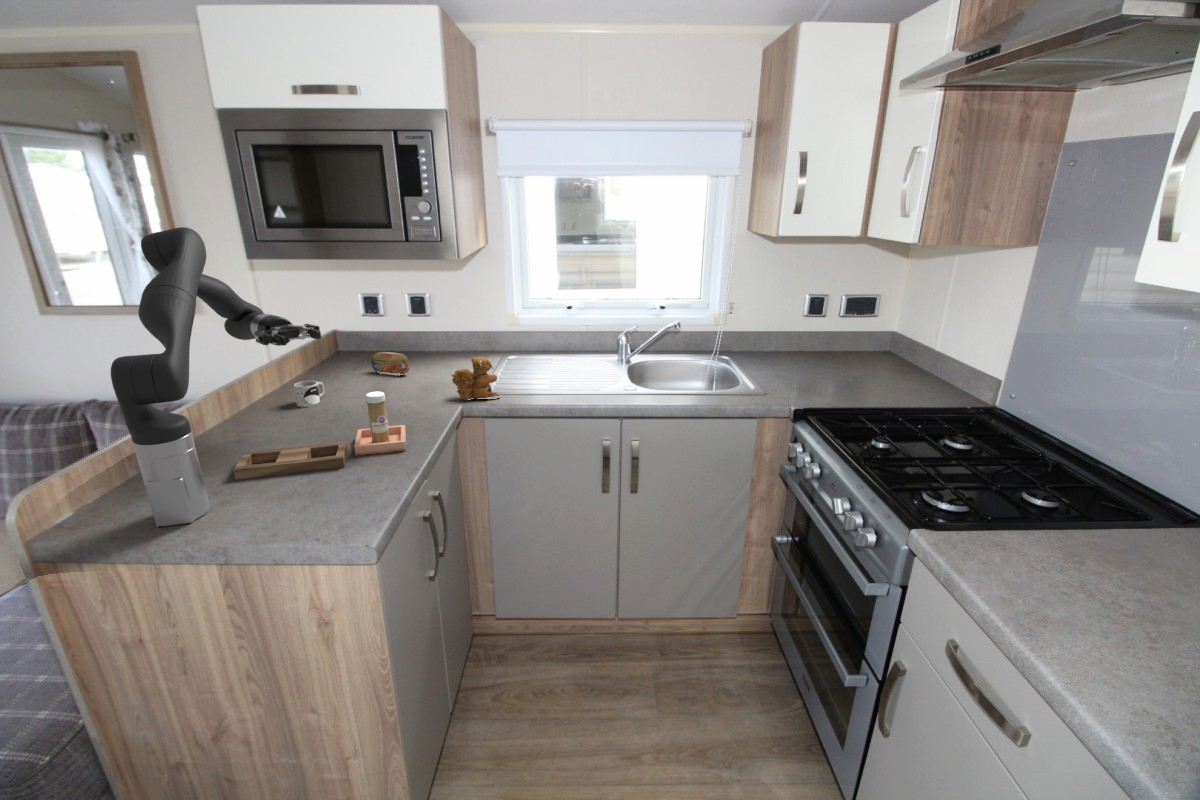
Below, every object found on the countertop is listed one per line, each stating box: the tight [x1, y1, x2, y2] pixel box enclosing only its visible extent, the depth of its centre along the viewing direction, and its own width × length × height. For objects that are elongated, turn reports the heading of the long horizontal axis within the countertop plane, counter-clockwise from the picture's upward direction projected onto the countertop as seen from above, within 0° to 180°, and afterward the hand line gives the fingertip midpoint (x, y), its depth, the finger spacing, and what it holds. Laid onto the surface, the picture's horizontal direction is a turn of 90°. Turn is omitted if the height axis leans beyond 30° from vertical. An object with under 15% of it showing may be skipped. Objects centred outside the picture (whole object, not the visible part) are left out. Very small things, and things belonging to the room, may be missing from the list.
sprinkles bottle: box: [365, 391, 390, 443], centre depth 147 cm, size 5×5×13 cm
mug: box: [293, 380, 326, 408], centre depth 179 cm, size 10×7×7 cm, turn 160°
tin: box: [370, 351, 411, 375], centre depth 208 cm, size 15×3×8 cm, turn 73°
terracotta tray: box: [353, 424, 407, 457], centre depth 149 cm, size 12×12×2 cm
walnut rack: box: [233, 441, 349, 480], centre depth 137 cm, size 10×23×2 cm, turn 108°
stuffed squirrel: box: [451, 356, 500, 401], centre depth 184 cm, size 10×14×13 cm
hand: (302, 338), depth 141 cm, fingers open, 8 cm apart
